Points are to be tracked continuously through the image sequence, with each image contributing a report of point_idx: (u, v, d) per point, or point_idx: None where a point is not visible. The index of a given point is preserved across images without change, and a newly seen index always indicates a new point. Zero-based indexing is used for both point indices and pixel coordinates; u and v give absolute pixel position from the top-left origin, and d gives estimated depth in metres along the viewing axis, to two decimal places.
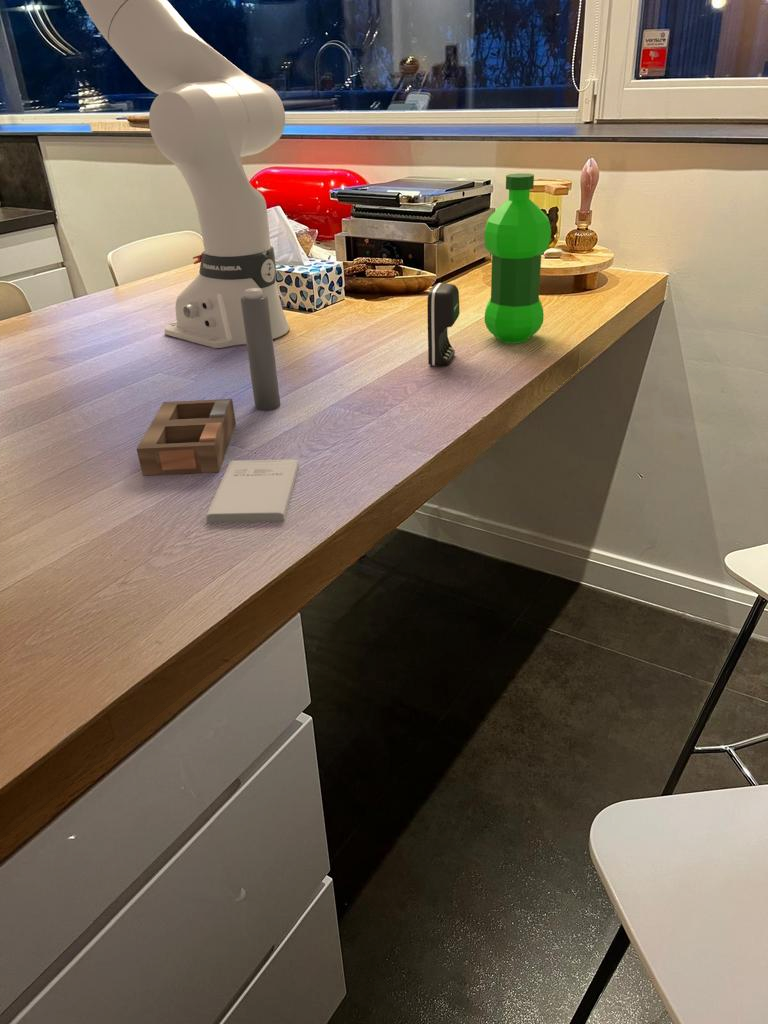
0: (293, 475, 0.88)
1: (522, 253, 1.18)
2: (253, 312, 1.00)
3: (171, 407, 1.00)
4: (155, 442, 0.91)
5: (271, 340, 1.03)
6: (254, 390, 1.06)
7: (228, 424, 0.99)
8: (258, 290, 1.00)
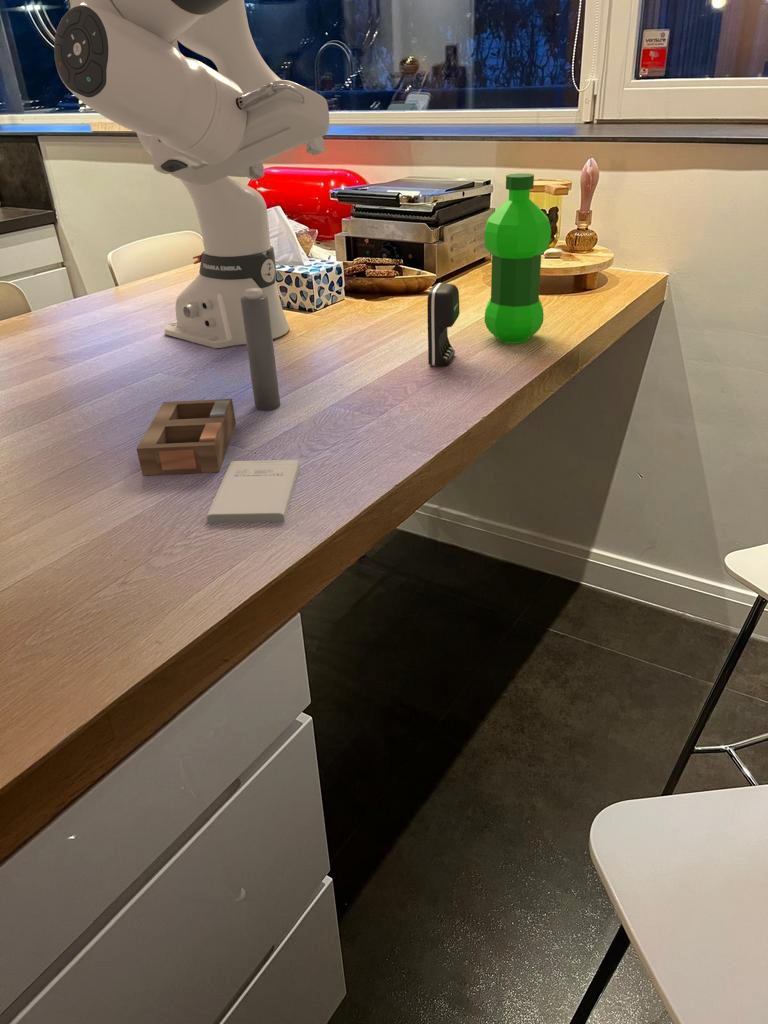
0: (294, 475, 0.88)
1: (522, 253, 1.18)
2: (253, 312, 1.00)
3: (171, 407, 1.00)
4: (155, 442, 0.91)
5: (271, 340, 1.03)
6: (254, 390, 1.06)
7: (228, 424, 0.99)
8: (258, 290, 1.00)
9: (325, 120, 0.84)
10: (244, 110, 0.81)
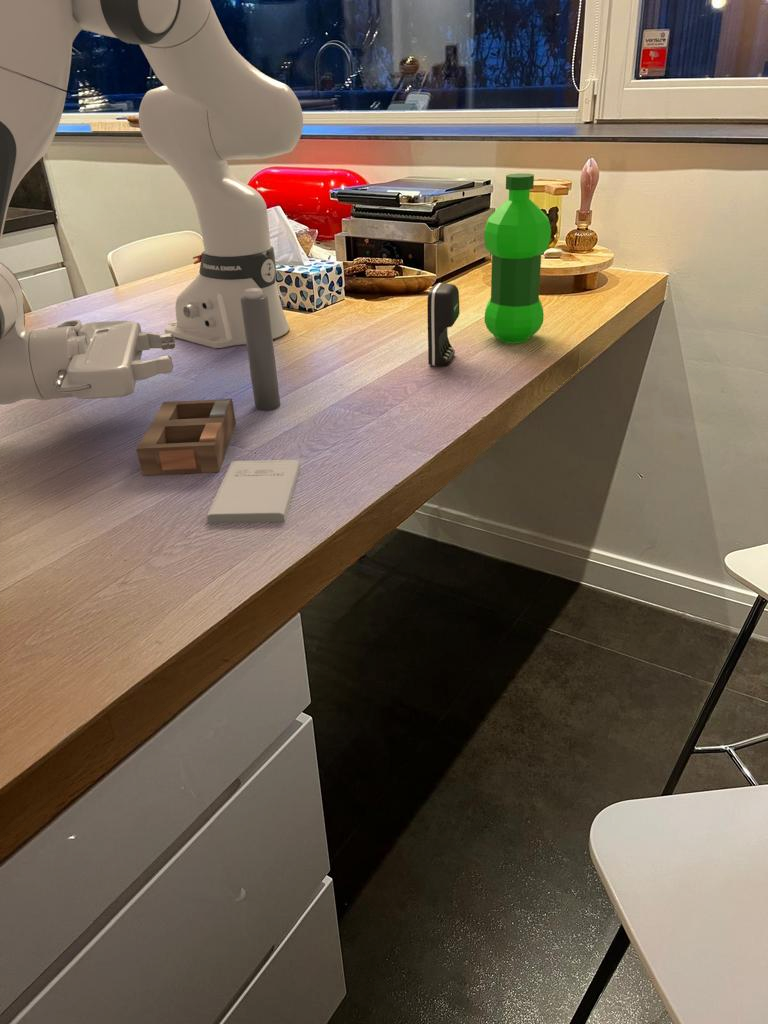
0: (294, 475, 0.88)
1: (522, 253, 1.18)
2: (253, 312, 1.00)
3: (171, 407, 1.00)
4: (155, 442, 0.91)
5: (271, 340, 1.03)
6: (254, 390, 1.06)
7: (228, 424, 0.99)
8: (258, 290, 1.00)
9: (119, 391, 0.93)
10: None
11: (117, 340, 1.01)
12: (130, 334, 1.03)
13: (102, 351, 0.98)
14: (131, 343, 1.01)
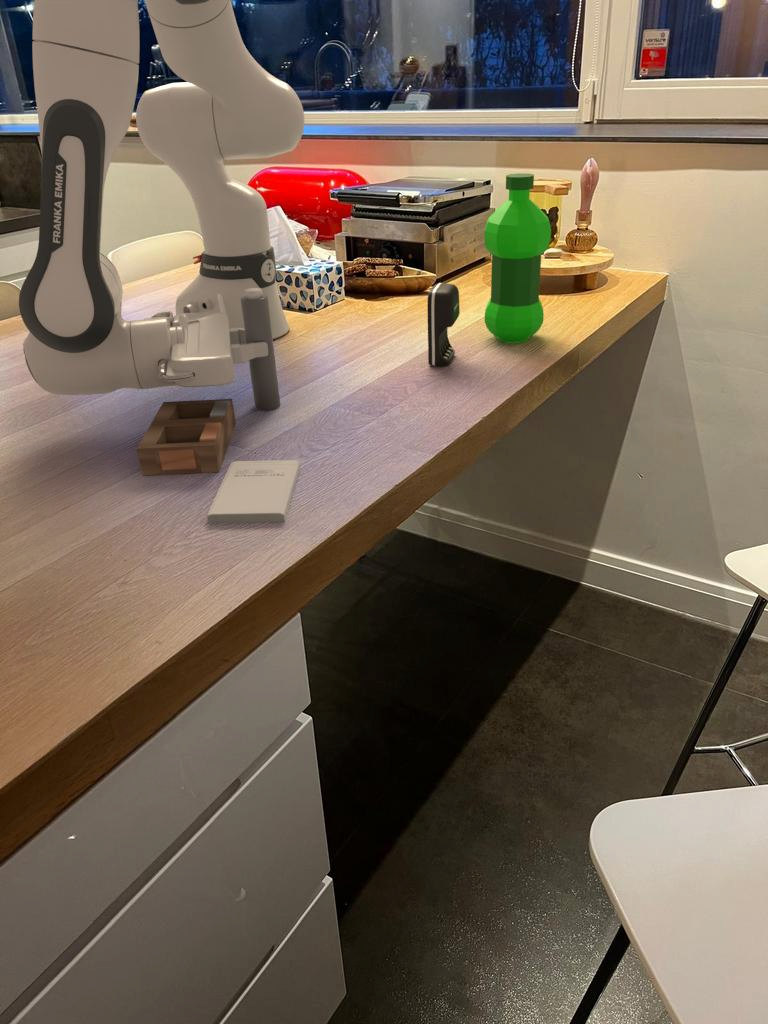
0: (294, 476, 0.88)
1: (522, 253, 1.18)
2: (253, 312, 1.00)
3: (171, 407, 1.00)
4: (155, 442, 0.91)
5: (271, 340, 1.03)
6: (254, 390, 1.06)
7: (228, 424, 0.99)
8: (258, 290, 1.00)
9: (222, 380, 0.95)
10: None
11: (211, 331, 1.03)
12: (223, 325, 1.05)
13: (200, 341, 1.00)
14: (226, 333, 1.02)
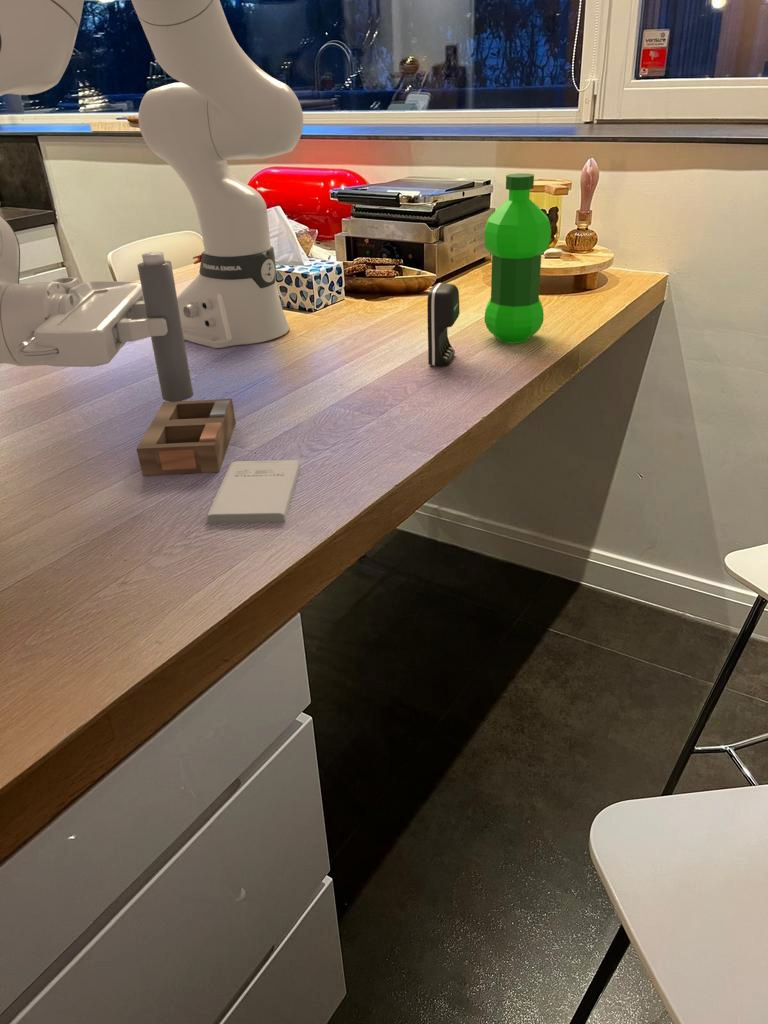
0: (294, 476, 0.88)
1: (522, 253, 1.18)
2: (149, 281, 0.82)
3: (171, 407, 1.00)
4: (155, 442, 0.91)
5: (176, 317, 0.85)
6: (158, 376, 0.88)
7: (228, 424, 0.99)
8: (158, 254, 0.82)
9: (91, 360, 0.78)
10: None
11: (108, 302, 0.86)
12: (127, 296, 0.88)
13: (85, 312, 0.83)
14: (123, 305, 0.85)
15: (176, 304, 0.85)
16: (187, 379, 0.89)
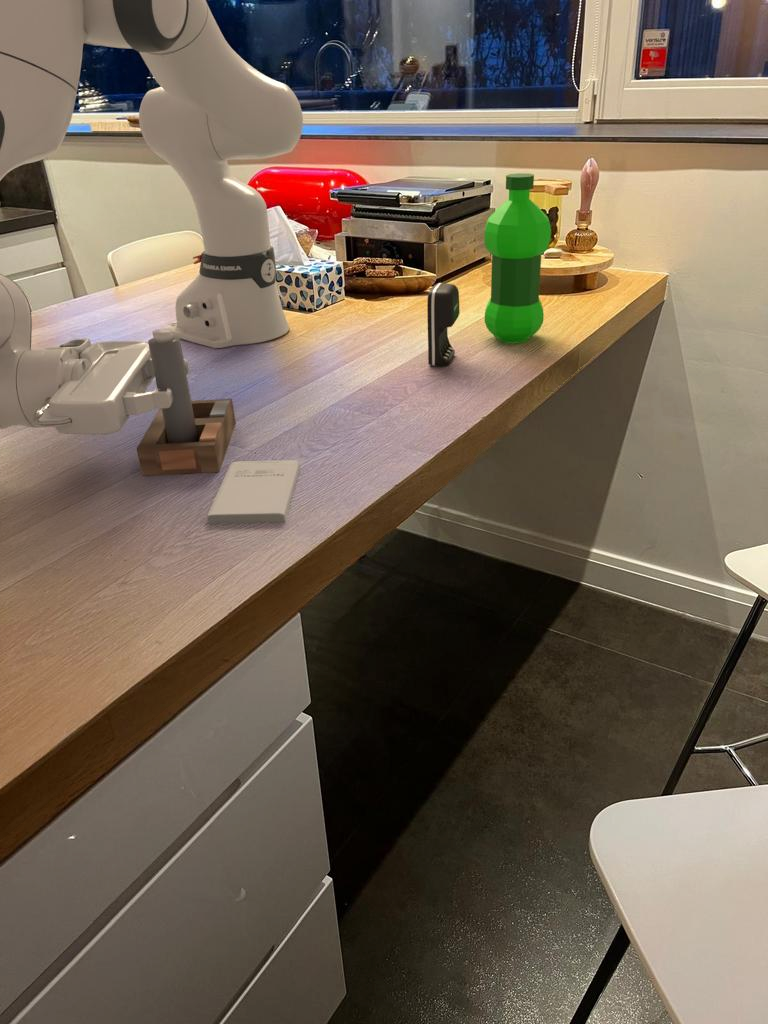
0: (294, 476, 0.88)
1: (522, 253, 1.18)
2: (159, 357, 0.86)
3: None
4: (155, 442, 0.91)
5: (185, 389, 0.89)
6: (168, 443, 0.93)
7: (228, 424, 0.99)
8: (167, 332, 0.86)
9: (103, 429, 0.81)
10: None
11: (119, 366, 0.90)
12: (137, 359, 0.92)
13: (97, 378, 0.87)
14: (132, 370, 0.89)
15: (185, 377, 0.89)
16: None
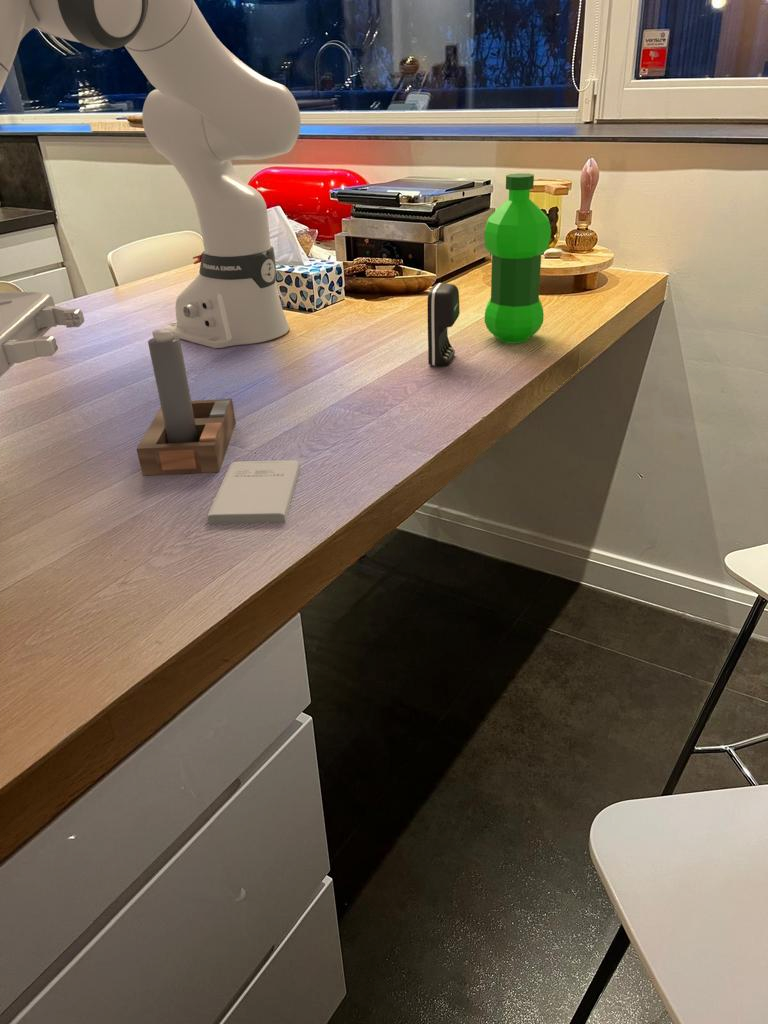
0: (294, 476, 0.88)
1: (522, 253, 1.18)
2: (159, 357, 0.86)
3: None
4: (155, 442, 0.91)
5: (185, 389, 0.89)
6: (168, 443, 0.93)
7: (228, 424, 0.99)
8: (167, 332, 0.86)
9: None
10: None
11: (7, 315, 0.89)
12: (27, 308, 0.90)
13: None
14: (19, 319, 0.87)
15: (185, 377, 0.89)
16: None
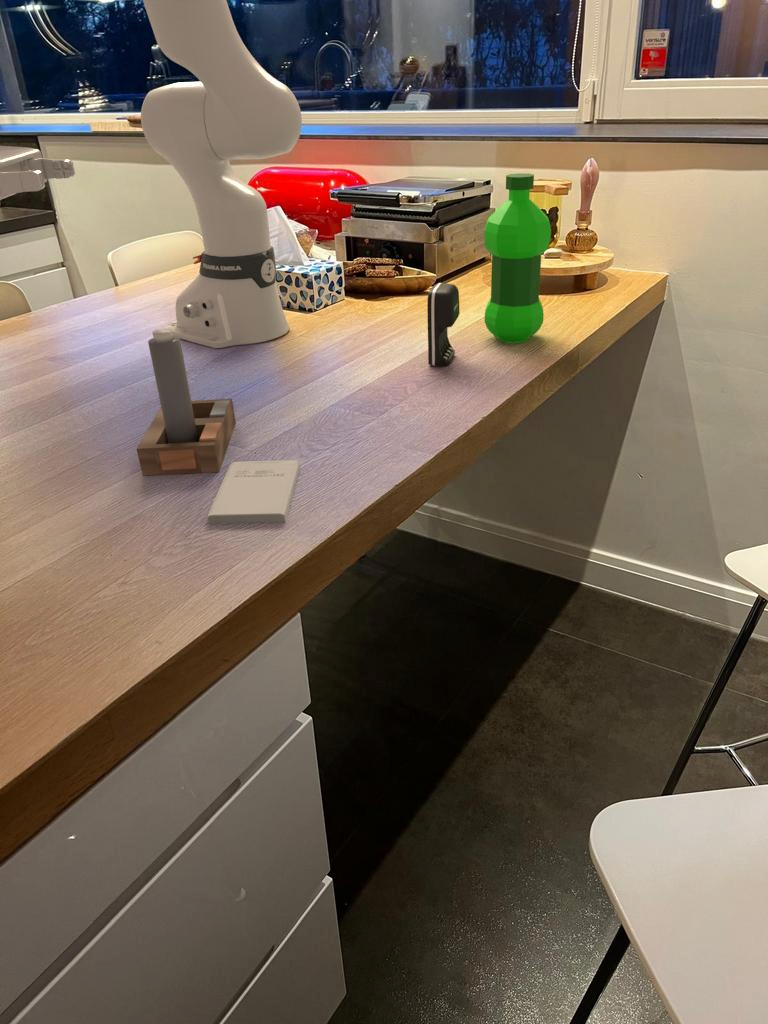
0: (294, 476, 0.88)
1: (522, 253, 1.18)
2: (159, 357, 0.86)
3: None
4: (155, 442, 0.91)
5: (185, 389, 0.89)
6: (168, 443, 0.93)
7: (228, 424, 0.99)
8: (167, 332, 0.86)
9: None
10: None
11: None
12: (14, 154, 0.84)
13: None
14: (4, 158, 0.81)
15: (185, 377, 0.89)
16: None
